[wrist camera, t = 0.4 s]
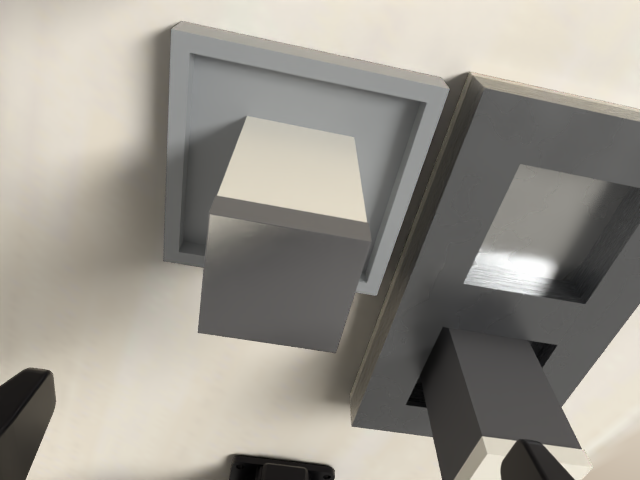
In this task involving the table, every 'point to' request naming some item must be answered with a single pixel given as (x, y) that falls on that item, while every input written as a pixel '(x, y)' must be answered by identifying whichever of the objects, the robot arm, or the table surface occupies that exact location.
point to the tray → (295, 109)
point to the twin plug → (492, 405)
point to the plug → (285, 238)
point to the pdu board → (512, 244)
